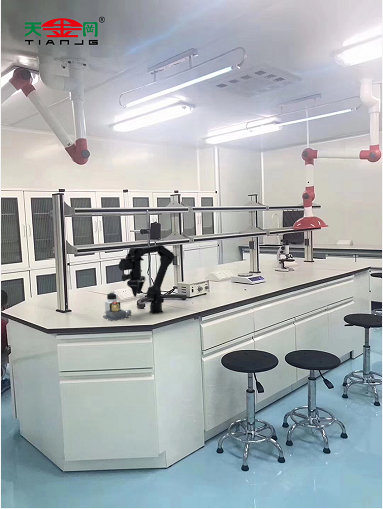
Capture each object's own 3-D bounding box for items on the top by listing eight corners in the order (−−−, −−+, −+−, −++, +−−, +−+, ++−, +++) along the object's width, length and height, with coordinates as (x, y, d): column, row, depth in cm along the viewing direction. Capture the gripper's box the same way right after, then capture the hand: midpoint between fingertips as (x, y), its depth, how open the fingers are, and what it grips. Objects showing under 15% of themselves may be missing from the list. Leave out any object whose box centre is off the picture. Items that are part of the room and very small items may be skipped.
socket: (125, 313, 249) (125, 306, 248) (134, 316, 240) (134, 309, 239) (103, 317, 240) (102, 310, 239) (111, 321, 231) (111, 314, 230)
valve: (117, 314, 241) (116, 301, 241) (121, 315, 238) (120, 302, 237) (110, 315, 239) (110, 302, 238) (114, 317, 235) (113, 303, 235)
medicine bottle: (110, 314, 248) (109, 295, 247) (105, 312, 253) (104, 293, 252) (120, 312, 252) (119, 293, 251) (115, 310, 258) (114, 291, 256)
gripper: (127, 266, 247) (128, 292, 249) (117, 271, 229) (118, 298, 230) (145, 266, 246) (146, 292, 247) (136, 270, 227) (138, 298, 229)
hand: (137, 295), depth 238 cm, fingers open, 9 cm apart
